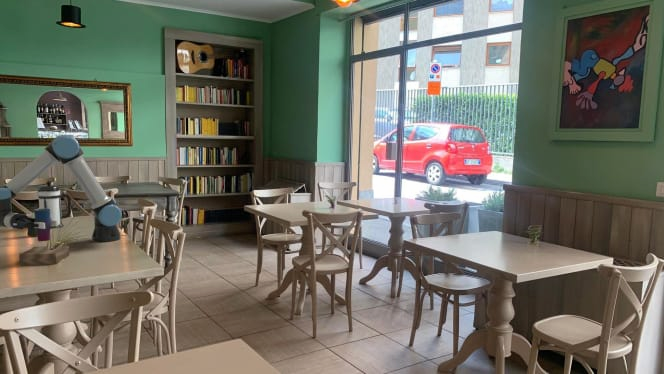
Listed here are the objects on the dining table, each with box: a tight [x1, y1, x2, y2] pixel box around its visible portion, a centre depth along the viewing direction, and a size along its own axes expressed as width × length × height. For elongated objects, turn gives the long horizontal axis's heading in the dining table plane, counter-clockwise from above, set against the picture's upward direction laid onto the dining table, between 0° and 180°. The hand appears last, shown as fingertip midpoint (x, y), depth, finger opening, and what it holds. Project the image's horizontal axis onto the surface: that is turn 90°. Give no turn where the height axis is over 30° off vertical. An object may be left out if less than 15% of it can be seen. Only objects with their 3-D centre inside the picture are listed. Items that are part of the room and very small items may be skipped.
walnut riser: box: [18, 245, 70, 266], centre depth 245 cm, size 16×16×5 cm
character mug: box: [26, 213, 37, 237], centre depth 299 cm, size 11×7×13 cm, turn 118°
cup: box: [33, 208, 51, 242], centre depth 243 cm, size 7×7×15 cm
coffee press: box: [35, 180, 72, 228], centre depth 327 cm, size 17×16×30 cm
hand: (50, 224), depth 241 cm, fingers closed on cup, 6 cm apart
